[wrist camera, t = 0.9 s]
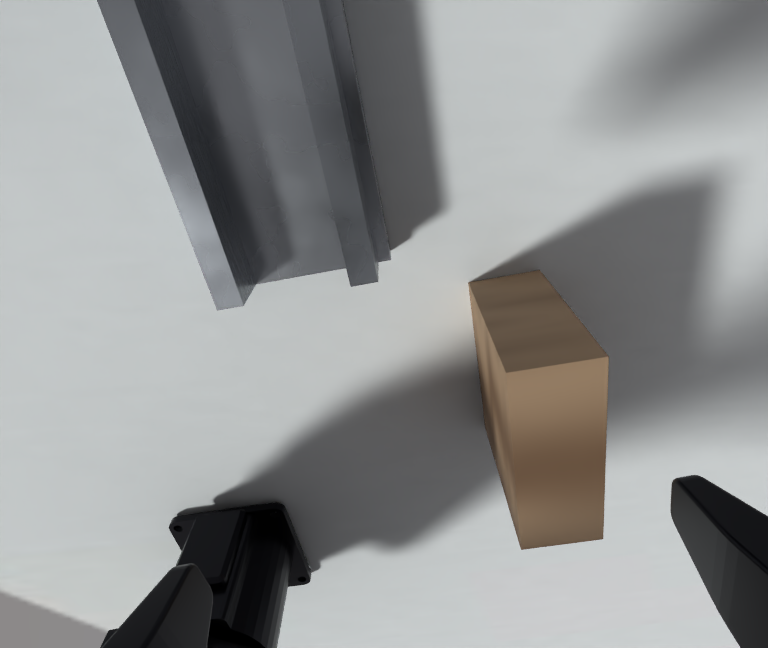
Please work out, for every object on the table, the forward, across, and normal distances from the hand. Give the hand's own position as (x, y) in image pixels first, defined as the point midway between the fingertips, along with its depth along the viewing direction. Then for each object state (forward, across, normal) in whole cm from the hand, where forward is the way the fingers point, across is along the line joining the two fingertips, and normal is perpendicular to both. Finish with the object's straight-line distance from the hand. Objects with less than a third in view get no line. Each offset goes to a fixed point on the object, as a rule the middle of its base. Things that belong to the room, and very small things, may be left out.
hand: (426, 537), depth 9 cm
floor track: (+13, +3, -8) cm, 16 cm away
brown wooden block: (+13, -4, +5) cm, 14 cm away
